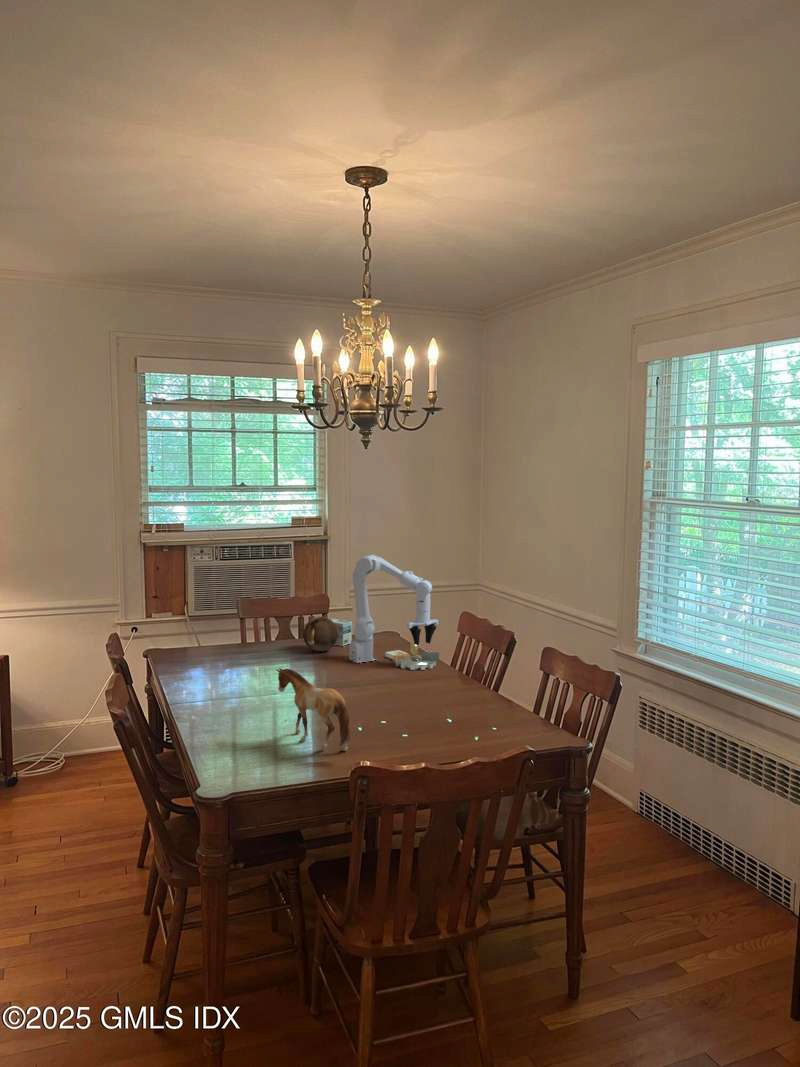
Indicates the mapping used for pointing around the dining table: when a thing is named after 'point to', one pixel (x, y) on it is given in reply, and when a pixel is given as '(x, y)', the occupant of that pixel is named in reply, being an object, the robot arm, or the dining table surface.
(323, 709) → the horse figurine
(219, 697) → the dining table surface
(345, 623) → the light bulb box
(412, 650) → the brass pin
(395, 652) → the square open frame
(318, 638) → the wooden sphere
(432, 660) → the sprocket
